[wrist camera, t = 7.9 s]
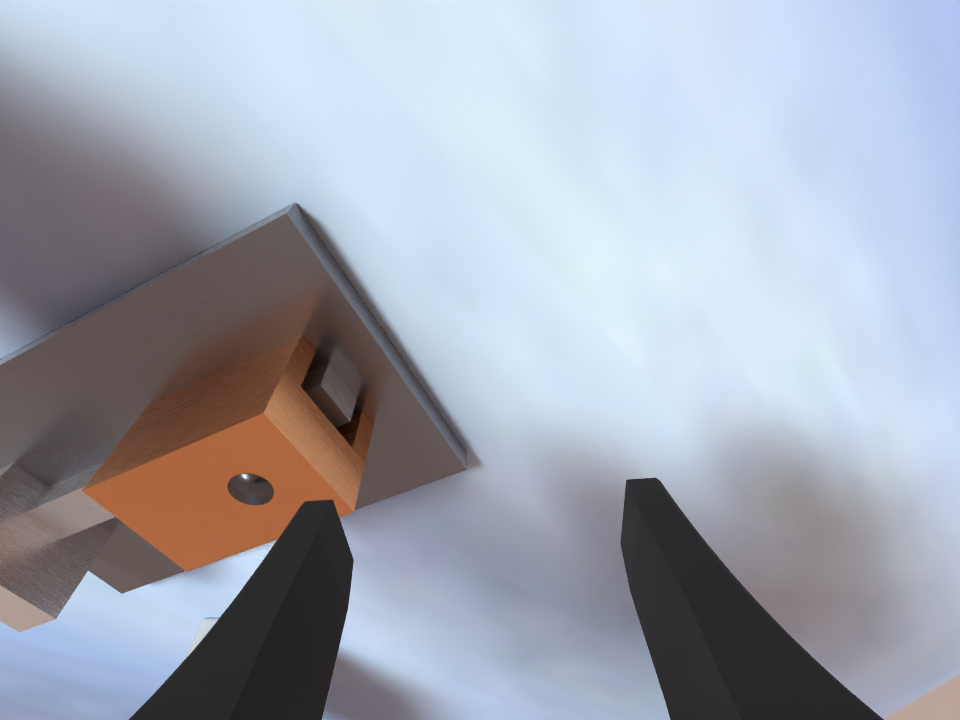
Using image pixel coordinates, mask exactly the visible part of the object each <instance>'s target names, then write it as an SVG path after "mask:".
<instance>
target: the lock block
mask: <svg viewBox="0 0 960 720" xmlns="http://www.w3.org/2000/svg"><path fill="white" fill-rule="evenodd" d="M314 355H315V351H314V350H313V349H312V347H311V346H310V345H309V343H308V342H307V341H306V340H305V338H304V337H303V336H302V335H301V336H298V337H296V338H294V339H292V340H290V341H287V342H285V343H283V344H281V345H279V346H277V347H274V348H272V349H270V350H268V351H266V352H264V353H261V354H259V355H257V356H255V357H253V358H251V359H248V360H246V361H244V362H242V363H240V364H237V365H235V366H233V367H231V368H229V369H227V370H224V371H222V372H220V373H218V374H216V375H214V376H211V377H209V378H207V379H205V380H203V381H201V382H198V383H196V384H194V385H192V386H190V387H187V388H185V389H183V390H181V391H179V392H177V393H174V394H172V395H170V396H168V397H166V398H164V399H161V400H159V401H157V402H155V403H153V404H150V405H148V406H147V407H146V409H145V410H144V411H143V413H142V414H141V415H140V416H139V418H138V419H137V420H136V422H135V423H134V424H133V425H132V427H131V428H130V429H129V431H128V432H127V433H126V434H125V436H124V437H123V438H122V440H121V441H120V442H119V443H118V445H117V446H116V447H115V449H114V450H113V451H112V452H111V454H110V455H109V456H108V458H107V459H106V460H105V461H104V463H103V464H102V465H101V467H100V468H99V469H98V470H97V472H96V473H95V474H94V476H93V477H92V478H91V479H90V481H89V482H88V483H87V485H86V486H85V487H84V488H83V490H82V491H83V492H84V493H85V494H87V495H88V496H89V497H91V498H92V499H93V500H94V501H96V502H97V503H98V504H100V505H101V506H102V507H103V508H105V509H106V510H107V511H109V512H110V513H111V514H112V515H114V516H115V517H116V518H118V519H119V520H120V521H122V522H123V523H124V524H125V525H127V526H128V527H129V528H131V529H132V530H133V531H134V532H136V533H137V534H138V535H140V536H141V537H142V538H143V539H145V540H146V541H147V542H149V543H150V544H151V545H153V546H154V547H155V548H156V549H158V550H159V551H160V552H162V553H163V554H164V555H165V556H167V557H168V558H169V559H171V560H172V561H173V562H174V563H176V564H177V565H178V566H180V567H181V568H182V569H183V570H185V571H186V572H187V571H190V570H193V569H196V568H198V567H201V566H204V565H207V564H210V563H212V562H215V561H218V560H221V559H224V558H226V557H229V556H232V555H235V554H238V553H240V552H243V551H246V550H249V549H251V548H254V547H257V546H260V545H263V544H265V543H268V542H271V541H274V540H277V539H278V538H279V537H280V535H281V534H282V533H283V531H284V530H285V528H286V527H287V525H288V524H289V522H290V521H291V519H292V518H293V516H294V515H295V513H296V512H297V511H298V509H299V508H300V506H301V505H302V504H303V503H304V502H305V501H317V500H332V499H333V501H334V504H335V507H336V510H337V513H338V516H339V517H341V516H344V515H346V514H349V513H352V512H354V510H355V505H356V501H357V496H358V492H359V488H360V483H361V479H362V474H363V470H364V466H365V461H366V457H367V452H368V448H369V443H370V439H371V435H372V430H373V425H372V424H371V422H370V421H369V420H368V419H367V417H366V416H365V415H364V413H363V412H360V413H358V414H355V415H353V416H352V417H351V421H350V422H348V423H346V424H343V425H341V426H338V427H336V428H335V427H334V426H333V424H332V423H331V422H330V421H329V420H328V418H327V417H326V416H325V415H324V414H323V412H322V411H321V410H320V409H319V408H318V406H317V405H316V404H315V403H314V402H313V400H312V399H311V398H310V397H309V396H308V394H307V393H306V392H305V391H304V390H303V389H302V387H301V385H302V383H303V380H304V378H305V376H306V373H307V371H308V369H309V366H310V364H311V362H312V359H313V357H314Z"/></svg>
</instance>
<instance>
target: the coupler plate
mask: <svg viewBox="0 0 960 720" xmlns="http://www.w3.org/2000/svg"><path fill="white" fill-rule="evenodd" d="M301 335H302V336H303V337H304V338H305V340H306V341H307V342H308V343H309V345H310V346H311V347H312V349H313V350H314V351H315V355H314V357H313V359H312V362H311V364H310V366H309V369H308V371H307V373H306V376H305V378H304V380H303V383H302V385H301V387H302V389H303V390H304V391H305V392H306V393H307V394H308V396H309V397H310V398H311V399H312V400H313V402H314V403H315V404H316V405H317V406H318V408H319V409H320V410H321V411H322V412H323V414H324V415H325V416H326V417H327V418H328V420H329V421H330V422H331V423H332V424H333V426H334V427H335V428H336V427H338V426H341V425H343V424H346V423H348V422H350V421H351V417H352V416H353V415H355V414H358V413H360V412H363V413H364V415H365V416H366V417H367V419H368V420H369V421H370V422H371V424H372V425H373V430H372V435H371V439H370V443H369V448H368V452H367V457H366V461H365V466H364V470H363V474H362V479H361V483H360V488H359V492H358V496H357V501H356V505H355V509H358V508H361V507H364V506H366V505H369V504H372V503H375V502H378V501H380V500H383V499H386V498H389V497H391V496H394V495H397V494H400V493H403V492H405V491H408V490H411V489H414V488H416V487H419V486H422V485H425V484H428V483H430V482H433V481H436V480H439V479H441V478H444V477H447V476H450V475H453V474H455V473H458V472H461V471H464V470H466V459H467V452H466V451H465V449H464V448H463V447H462V445H461V444H460V442H459V441H458V439H457V438H456V436H455V435H454V433H453V432H452V430H451V429H450V428H449V426H448V425H447V423H446V422H445V420H444V419H443V417H442V416H441V414H440V413H439V412H438V410H437V409H436V407H435V406H434V404H433V403H432V401H431V400H430V398H429V397H428V395H427V394H426V393H425V391H424V390H423V388H422V387H421V385H420V384H419V382H418V381H417V379H416V378H415V377H414V375H413V374H412V372H411V371H410V369H409V368H408V366H407V365H406V363H405V362H404V360H403V359H402V358H401V356H400V355H399V353H398V352H397V350H396V349H395V347H394V346H393V344H392V343H391V341H390V340H389V339H388V337H387V336H386V334H385V333H384V331H383V330H382V328H381V327H380V325H379V324H378V323H377V321H376V320H375V318H374V317H373V315H372V314H371V312H370V311H369V309H368V308H367V306H366V305H365V304H364V302H363V301H362V299H361V298H360V296H359V295H358V293H357V292H356V290H355V289H354V288H353V286H352V285H351V283H350V282H349V280H348V279H347V277H346V276H345V274H344V273H343V271H342V270H341V269H340V267H339V266H338V264H337V263H336V261H335V260H334V258H333V257H332V255H331V254H330V253H329V251H328V250H327V248H326V247H325V245H324V244H323V242H322V241H321V239H320V238H319V236H318V235H317V234H316V232H315V231H314V229H313V228H312V226H311V225H310V223H309V222H308V220H307V219H306V217H305V216H304V215H303V213H302V212H301V210H300V209H299V207H298V206H297V204H296V203H293V204H292V205H290V206H288V207H286V208H284V209H282V210H280V211H278V212H277V213H275V214H273V215H271V216H269V217H267V218H265V219H263V220H262V221H260V222H258V223H256V224H254V225H252V226H250V227H248V228H247V229H245V230H243V231H241V232H239V233H237V234H235V235H233V236H231V237H230V238H228V239H226V240H224V241H222V242H220V243H218V244H216V245H215V246H213V247H211V248H209V249H207V250H205V251H203V252H201V253H200V254H198V255H196V256H194V257H192V258H190V259H188V260H186V261H185V262H183V263H181V264H179V265H177V266H175V267H173V268H171V269H169V270H168V271H166V272H164V273H162V274H160V275H158V276H156V277H154V278H153V279H151V280H149V281H147V282H145V283H143V284H141V285H139V286H138V287H136V288H134V289H132V290H130V291H128V292H126V293H124V294H123V295H121V296H119V297H117V298H115V299H113V300H111V301H109V302H107V303H106V304H104V305H102V306H100V307H98V308H96V309H94V310H92V311H91V312H89V313H87V314H85V315H83V316H81V317H79V318H77V319H76V320H74V321H72V322H70V323H68V324H66V325H64V326H62V327H61V328H59V329H57V330H55V331H53V332H51V333H49V334H47V335H46V336H44V337H42V338H40V339H38V340H36V341H34V342H32V343H30V344H29V345H27V346H25V347H23V348H21V349H19V350H17V351H15V352H14V353H12V354H10V355H8V356H6V357H4V358H2V359H0V621H1V622H3V623H5V624H6V625H8V626H10V627H12V628H13V629H15V630H17V631H19V632H21V631H24V630H27V629H30V628H32V627H35V626H38V625H41V624H44V623H46V622H49V621H52V620H55V619H56V618H57V616H58V615H59V613H60V612H61V610H62V609H63V607H64V606H65V604H66V603H67V601H68V600H69V598H70V597H71V595H72V594H73V592H74V591H75V589H76V588H77V586H78V585H79V583H80V582H81V580H82V579H83V577H84V576H85V574H86V573H87V571H90V572H91V573H93V574H94V575H96V576H97V577H99V578H100V579H101V580H103V581H104V582H106V583H107V584H109V585H110V586H112V587H113V588H115V589H116V590H117V591H119V592H120V593H125V592H127V591H130V590H133V589H136V588H139V587H141V586H144V585H147V584H150V583H152V582H155V581H158V580H161V579H164V578H166V577H169V576H172V575H175V574H177V573H180V572H183V571H185V570H183V569H182V568H181V567H180V566H178V565H177V564H176V563H174V562H173V561H172V560H171V559H169V558H168V557H167V556H165V555H164V554H163V553H162V552H160V551H159V550H158V549H156V548H155V547H154V546H153V545H151V544H150V543H149V542H147V541H146V540H145V539H143V538H142V537H141V536H140V535H138V534H137V533H136V532H134V531H133V530H132V529H131V528H129V527H128V526H127V525H125V524H124V523H123V522H122V521H120V520H119V519H118V518H116V517H115V516H114V515H112V514H111V513H110V512H109V511H107V510H106V509H105V508H103V507H102V506H101V505H100V504H98V503H97V502H96V501H94V500H93V499H92V498H91V497H89V496H88V495H87V494H85V493H84V492H83V491H82V490H83V488H84V487H85V486H86V485H87V483H88V482H89V481H90V479H91V478H92V477H93V476H94V474H95V473H96V472H97V470H98V469H99V468H100V467H101V465H102V464H103V463H104V461H105V460H106V459H107V458H108V456H109V455H110V454H111V452H112V451H113V450H114V449H115V447H116V446H117V445H118V443H119V442H120V441H121V440H122V438H123V437H124V436H125V434H126V433H127V432H128V431H129V429H130V428H131V427H132V425H133V424H134V423H135V422H136V420H137V419H138V418H139V416H140V415H141V414H142V413H143V411H144V410H145V409H146V407H147V406H148V405H150V404H153V403H155V402H157V401H159V400H161V399H164V398H166V397H168V396H170V395H172V394H174V393H177V392H179V391H181V390H183V389H185V388H187V387H190V386H192V385H194V384H196V383H198V382H201V381H203V380H205V379H207V378H209V377H211V376H214V375H216V374H218V373H220V372H222V371H224V370H227V369H229V368H231V367H233V366H235V365H237V364H240V363H242V362H244V361H246V360H248V359H251V358H253V357H255V356H257V355H259V354H261V353H264V352H266V351H268V350H270V349H272V348H274V347H277V346H279V345H281V344H283V343H285V342H287V341H290V340H292V339H294V338H296V337H298V336H301Z"/></svg>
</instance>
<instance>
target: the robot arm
mask: <svg viewBox="0 0 960 720" xmlns="http://www.w3.org/2000/svg"><path fill="white" fill-rule="evenodd" d="M621 548H622V553H623V558H624V563H625V568H626V573H627V577H628V582H629V587H630V591H631V595H632V598H633V601H634V604H635V607H636V611H637V614H638V617H639V620H640V623H641V626H642V630H643V633H644V636H645V639H646V642H647V645H648V648H649V651H650V655H651V658H652V661H653V664H654V667H655V670H656V673H657V676H658V680H659V683H660V686H661V689H662V692H663V695H664V698H665V701H666V705H667V708H668V712H669V716H670V719H671V720H883V719H882V718H881V717H880V716H879V715H877V714H876V713H875V712H874V711H873V710H872V709H870V708H869V707H868V706H867V705H866V704H864V703H863V702H862V701H861V700H860V699H858V698H857V697H856V696H855V695H854V694H853V693H851V692H850V691H849V690H848V689H847V688H846V687H844V686H843V685H842V684H841V683H840V682H839V681H838V680H837V679H836V678H835V677H833V676H832V675H831V674H830V673H829V672H828V671H827V670H826V669H825V668H824V667H823V666H821V665H820V664H819V663H818V662H817V661H816V660H815V659H814V658H813V657H812V656H811V655H810V654H809V653H808V652H807V651H806V650H804V649H803V648H802V647H801V646H800V645H799V644H798V643H797V642H796V641H795V640H794V639H793V638H792V637H791V636H790V635H789V634H788V633H787V632H786V631H785V630H784V629H783V628H782V627H781V626H780V625H779V624H778V623H777V622H776V621H775V620H774V619H773V618H772V617H771V616H770V615H769V614H768V613H767V611H766V610H765V609H764V608H763V607H762V606H761V605H760V604H759V603H758V602H757V601H756V600H755V599H754V597H753V596H752V595H751V594H750V593H749V592H748V591H747V590H746V589H745V588H744V587H743V585H742V584H741V583H740V582H739V581H738V580H737V579H736V577H735V576H734V575H733V574H732V573H731V572H730V571H729V569H728V568H727V567H726V566H725V565H724V563H723V562H722V561H721V560H720V559H719V557H718V556H717V555H716V554H715V553H714V552H713V550H712V549H711V548H710V547H709V546H708V544H707V543H706V542H705V541H704V539H703V538H702V537H701V536H700V534H699V533H698V532H697V530H696V529H695V528H694V527H693V525H692V524H691V523H690V521H689V520H688V519H687V517H686V516H685V515H684V513H683V512H682V511H681V509H680V508H679V507H678V505H677V504H676V503H675V501H674V500H673V498H672V497H671V496H670V494H669V493H668V491H667V490H666V488H665V487H664V486H663V484H662V483H661V481H659V480H658V479H657V478H645V479H630V480H626V490H625V501H624V512H623V523H622V534H621ZM352 570H353V557H352V554H351V551H350V548H349V545H348V542H347V539H346V536H345V533H344V530H343V527H342V525H341V522H340V519H339V516H338V513H337V510H336V507H335V504H334V501H333V499H332V500H317V501H305V502H304V503H303V504H302V505H301V506H300V508H299V509H298V511H297V512H296V513H295V515H294V516H293V518H292V519H291V521H290V522H289V524H288V525H287V527H286V528H285V530H284V531H283V533H282V534H281V535H280V537H279V538H278V540H277V541H276V543H275V544H274V546H273V547H272V548H271V550H270V551H269V553H268V554H267V556H266V557H265V558H264V560H263V561H262V563H261V564H260V565H259V567H258V568H257V569H256V571H255V572H254V574H253V575H252V576H251V578H250V579H249V580H248V582H247V583H246V584H245V586H244V587H243V588H242V590H241V591H240V593H239V594H238V595H237V597H236V598H235V599H234V600H233V602H232V603H231V604H230V606H229V607H228V608H227V609H226V611H225V612H224V613H223V614H222V616H221V617H220V618H219V619H218V621H217V622H216V623H215V624H214V625H213V627H212V628H211V629H210V630H209V632H208V633H207V634H206V635H205V637H204V638H203V639H202V640H201V642H200V643H199V644H198V645H197V646H196V647H195V649H194V650H193V651H192V652H191V653H190V654H189V656H188V657H187V658H186V659H185V660H184V661H183V662H182V664H181V665H180V666H179V667H178V668H177V669H176V670H175V671H174V673H173V674H172V675H171V676H170V677H169V678H168V679H167V680H166V681H165V682H164V684H163V685H162V686H161V687H160V688H159V689H158V690H157V691H156V692H155V693H154V694H153V695H152V696H151V697H150V698H149V699H148V700H147V702H146V703H145V704H144V705H143V706H142V707H141V708H140V709H139V710H138V711H137V712H136V713H135V714H134V715H133V716H132V717H131V718H130V719H129V720H322V715H323V711H324V707H325V703H326V699H327V695H328V690H329V686H330V682H331V678H332V674H333V669H334V665H335V661H336V657H337V653H338V649H339V644H340V640H341V636H342V631H343V627H344V623H345V619H346V614H347V610H348V603H349V595H350V588H351V579H352Z"/></svg>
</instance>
